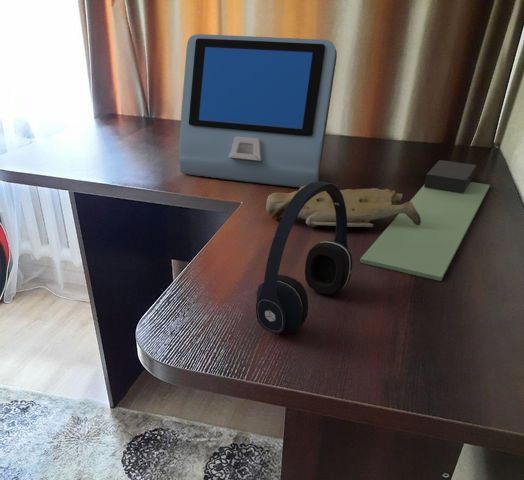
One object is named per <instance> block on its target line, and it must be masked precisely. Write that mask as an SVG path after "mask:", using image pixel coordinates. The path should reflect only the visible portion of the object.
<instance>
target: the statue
mask: <svg viewBox="0 0 524 480" xmlns="http://www.w3.org/2000/svg"><path fill="white" fill-rule="evenodd" d="M334 185H335V186H337V185H336V184H334ZM305 186H307V185H305ZM305 186H302V187H301V188H298V190H295V191H292V192H289V193H288V192H273V193H271V194H269V195H268V197H267V199H266V204H265V210H266V212H267V214H268V215H269V216H271V218H272V219H274V218H279V217H282V216H283V214H284V212H285V210H286V208H287V206H288V204H289V203H290V201H291V200H292V198H293V197H294V196H295V194H296V193H298V192H299V191H300V190H301V189H302V188H304V187H305ZM339 190H340V191H341V193H342V195H343V198H344V202H345V207H346V214H347V228H348V227H349V228H350V227H355V228H356V227H357V228H373V227H374V223H371V222H372V221H373V220H377V219H384V218H388V217H392V216H395V215H399V214H401V213H402V214H406V215H407V216H408V217H409V218H410V219H411V220H412V221H413V223H414V224H415V225H418V226H419V225H420V223H421V220H420V219H421V218H420V215H419V213H418V212H417V210H416V209H415V207H414V205H413V204H412V202H410V201H406V202H404V203H402V198H403V196H404V194H403V193H396V190H395V189H394V190H391V189H389V188H385V189H384V188H383V189H380V188H377V187H371V188H356V189H351V188H346V189H339ZM394 203H401V204H394ZM297 217H299V218H300V219H302V220H305V225H307V226H308V227H309V228H315V227H317V226H331V227H332V226H333V227H336V214H335V208H334V203H333V201H332V199H331V197H330V196H329V194H328V193H327V192H326V191H323V192H321V193H318V194H317V195H315V196H314V197H312V198H311V199H310V200H309V201H308V202H307V203H306V204H305V205H304V206H303V208H302V209H301V211H300V213H299V215H298V216H297Z"/></svg>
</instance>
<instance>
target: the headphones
mask: <svg viewBox="0 0 524 480" xmlns="http://www.w3.org/2000/svg"><path fill="white" fill-rule="evenodd" d="M335 185H336V184H334V183H331V182H326V181H322V180H321V181H320V180H319V182H313V183H310V184H308V185H307V186H305V187H304V188H302V189H301V190H300V191H299V192H298V193H296V194H295V196H294V197H293V198H292V200H291V201H290V203H289V204H288V206H287V208H286V210H285V212H284V214H283V216H281V218H280V220H279V222H278V225H277V227H276V230H275V233H274V236H273V240H272V241H271V245H270V249H269V252H268V253H269V254H268V257H267V262H266V266H265V272H264V279H263V282H262V283H261V284H260V285H258V287H257V291H256V303H255V315H256V320H257V322H258V325H260V327H261V328H263V329H264V330H265V331H268V332H270V333H273V334H281V333H282V334H284V335H292V334H294V333H295V332H297V331H298V330H299V329H300V327H302V326H303V325H304V323H305V322H306V320H307V317H308V313H309V298H308V294H307V293H308V292H307V290H306V288H305V286H304V285H303V284H302V283H301V282H300V281H298V280H297V279H296V278H294V277H291V276H289V275H285V274H279V270H280V266H281V261H282V258H283V254H284V251H285V248H286V244H287V240H288V239H289V236H290V233H291V231H292V228H293V226H294V224H295V222H296V220H297V218H298V217H299V216H298V215H299V213H300V211H301V209H302V208H303V206H304V205H305V204H306V203H307V202H308V201H309V200H310V199H311V198H312V197H314V196H315V195H317V194H318V193H321V192H323V191H326V192H327V193H328V194H329V196H330V197H331V199H332V201H333V203H334V208H335V214H336V226H335V233H334V238H333V240H321V241H320V242H318V243H316V244H315V245H314V246H312V247H311V248H310V249H309V251H308V253H307V255H306V259H305V263H304V264H305V265H304V277H305V281H306V283H307V285H308V287H309V288H310V289H312V291H314V292H317V293H319V294H321V295H322V294H323V295H327V296H331V295H337V294H338V293H340V291H342V290H344V289H345V288H346V287H347V286H348V284H349V282H350V279H351V275H352V270H353V256H352V253H351V251H350V249H349V246H348V235H347V234H348V227H347V214H346V207H345V202H344V198H343V195H342V193H341V191H340V190H341V189H339V187H338V185H336V186H335Z"/></svg>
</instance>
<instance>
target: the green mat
mask: <svg viewBox="0 0 524 480" xmlns="http://www.w3.org/2000/svg"><path fill="white" fill-rule="evenodd" d="M424 185H425V183H424V184H423V186H421V187H420V189H419V190H418V191H417V192H416V194H415V195H414V196H413V197H412V198H411V199H410V201H409V202H412V204H413V205H414V207H415V209H416V210H417V212H418V213H419V215H420V218H421V219H420V220H421V223H420V225H419V226H418V225H415V224H414V223H413V221H412V220H411V219H410V218H409V217H408V216H407V215H406V214H402V213H401V214H397V215H396V217H394V219H393V220H392V222H390V224H388V226H387V227H386V228H385V229H384V231H383V232H382V233H381V234H380V235H379V236H378V238H377V239H376V240H375V241H374V242H373V243H372V244H371V246H370V247H369V248H368V249H367V250H366V251H365V252H364V253H363V255H362V256H361V257H360V259H359V264H364V265H370V266H373V267H378V268H382V269H386V270H390V271H395V272H400V273H404V274H408V275H412V276H417V277H421V278H425V279H429V280H435V281H439V282H442V280H443V278H444V276H445V275H446V272H447V271H448V269H449V267H450V265H451V263H452V261H453V259H454V257H455V255H456V253H457V251H458V249H459V248H460V246H461V244H462V242H463V240H464V238H465V236H466V233H467V232H468V230H469V228H470V226H471V224H472V222H473V220H474V218H475V217H476V215H477V212H478V211H479V208H481V205H482V203H483V201H484V200H485V197H486V195H487V193H488V191H489V189H490V187H491V184H488V183H481V182H475V181H474V182H473V181H471V182H470V183H469V185H468V187H467V188H466V190H465V191H464V193H459V192H452V191H446V190H440V189H434V188H428V187H424Z"/></svg>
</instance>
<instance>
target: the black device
mask: <svg viewBox="0 0 524 480" xmlns="http://www.w3.org/2000/svg"><path fill="white" fill-rule="evenodd" d="M476 169H477V164H471V163H464V162H458V161H450V160H443V159H439V160H438V161H437V162H436V163H435V164H434V165H433V167H432V168H430V170H429V171H428V172H427V173H426V176H425V180H424V184H425V185H424V184H423V186H424V187H428V188H434V189H440V190H446V191H452V192H459V193H464V191H465V190H466V188H467V187H468V185H469V183H470V182H472V180H473V179H474V176H475V172H476Z"/></svg>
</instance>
